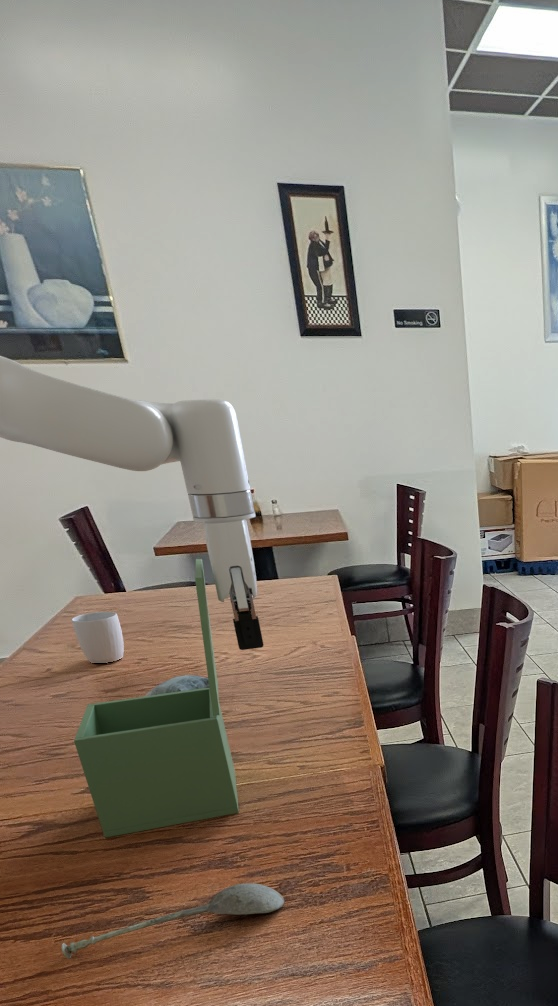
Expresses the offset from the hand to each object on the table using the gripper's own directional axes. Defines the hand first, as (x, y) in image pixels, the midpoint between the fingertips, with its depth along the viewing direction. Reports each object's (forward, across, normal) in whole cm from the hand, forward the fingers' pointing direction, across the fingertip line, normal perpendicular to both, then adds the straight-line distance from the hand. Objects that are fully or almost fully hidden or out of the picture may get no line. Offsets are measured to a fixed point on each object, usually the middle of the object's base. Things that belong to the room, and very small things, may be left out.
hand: (251, 647), depth 112 cm
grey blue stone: (+21, -47, -14) cm, 53 cm away
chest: (+21, 0, -14) cm, 25 cm away
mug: (+21, -88, -31) cm, 96 cm away
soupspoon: (+21, +34, -13) cm, 42 cm away
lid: (-2, 0, -6) cm, 6 cm away
